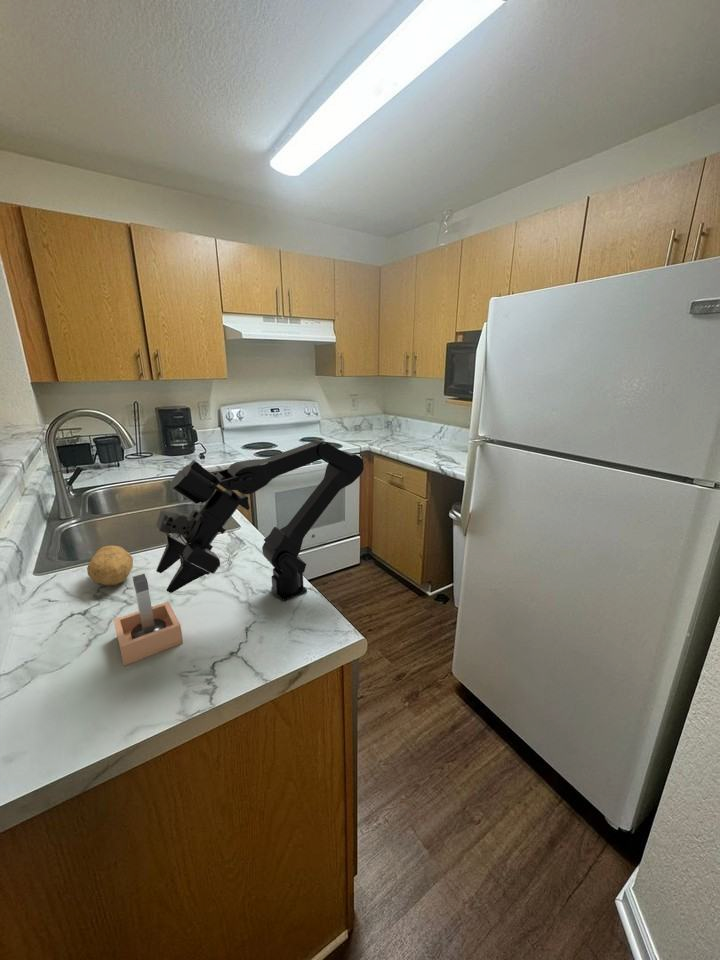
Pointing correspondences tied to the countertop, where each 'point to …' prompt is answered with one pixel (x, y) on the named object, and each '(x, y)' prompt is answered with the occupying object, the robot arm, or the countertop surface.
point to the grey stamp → (145, 609)
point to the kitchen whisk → (225, 551)
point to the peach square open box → (149, 642)
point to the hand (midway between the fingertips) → (163, 581)
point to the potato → (110, 565)
